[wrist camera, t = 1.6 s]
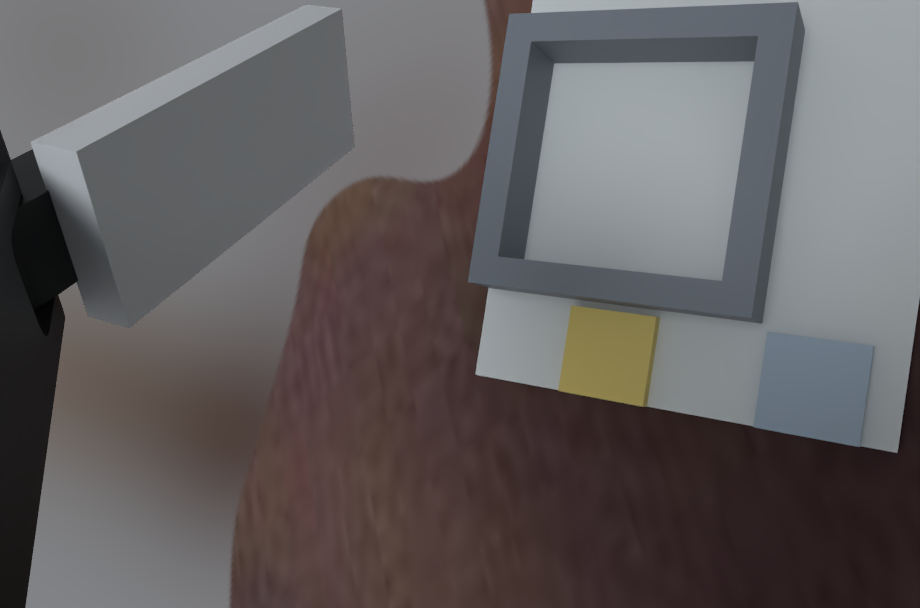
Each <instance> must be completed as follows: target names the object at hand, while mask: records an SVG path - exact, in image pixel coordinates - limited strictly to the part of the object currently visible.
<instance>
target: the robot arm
mask: <svg viewBox="0 0 920 608" xmlns="http://www.w3.org/2000/svg"><path fill="white" fill-rule="evenodd" d="M31 146H32V150H30V151H28V152H26V153H24V154H22V155H20V156H18V157H16V158H14V159H12V160H11V159H10V157H9V154H8V151H7V148H6V145H5V142H4V140H3V137H2V134H1V131H0V608H25V605H26V597H27V591H28V590H27V589H28V582H29V576H30V569H31V561H32V554H33V547H34V540H35V533H36V525H37V518H38V510H39V503H40V496H41V489H42V482H43V474H44V467H45V460H46V453H47V445H48V438H49V430H50V424H51V417H52V409H53V402H54V395H55V387H56V380H57V373H58V366H59V358H60V351H61V344H62V337H63V329H64V322H65V315H64V311H63V308H62V305H61V302H60V299H59V296H58V294H60V293H61V292H62V291H64V290H65V289H67V288H68V287H70V286H71V285H73V284H74V283H75V282H77V284H78V287H79V290H80V293H81V296H82V299H83V302H84V305H85V308H86V311H87V315H88V316H89V317H92V318H95V319H99V320H102V321H106V322H110V323H113V324H116V325H120V326H123V327H127V328H130V327H131V326H133V325H134V324H135V323H136V322H137V321H139V320H140V319H141V318H142V317H144V316H145V315H146V314H147V313H149V312H150V311H151V310H152V309H154V308H155V307H156V306H157V305H158V304H160V303H161V302H162V301H163V300H165V299H166V298H167V297H169V296H170V295H171V294H172V293H173V292H175V291H176V290H177V289H179V288H180V287H181V286H182V285H184V284H185V283H186V282H187V281H189V280H190V279H191V278H192V277H194V276H195V275H196V274H197V273H199V272H200V271H201V270H202V269H203V268H205V267H206V266H207V265H209V264H210V263H211V262H212V261H213V260H215V259H216V258H217V257H218V256H220V255H221V254H222V253H223V252H224V251H226V250H227V249H228V248H230V247H231V246H232V245H233V244H235V243H236V242H237V241H238V240H240V239H241V238H242V237H243V236H245V235H246V234H247V233H248V232H250V231H251V230H252V229H253V228H255V227H256V226H257V225H258V224H260V223H261V222H262V221H263V220H265V219H266V218H267V217H268V216H270V215H271V214H272V213H273V212H274V211H276V210H277V209H278V208H280V207H281V206H282V205H283V204H285V203H286V202H287V201H288V200H290V198H292V197H293V196H294V195H296V194H297V193H298V192H299V191H300V190H302V189H303V188H304V187H306V186H307V185H308V184H309V183H311V182H312V181H313V180H314V179H316V178H317V177H318V176H319V175H321V174H322V173H323V172H324V171H326V170H327V169H328V168H329V167H331V166H332V165H333V164H334V163H335V162H337V161H338V160H339V159H341V158H342V157H343V156H344V155H346V154H347V153H348V152H349V151H351V150H352V149H353V148H354V147H355V145H354V135H353V124H352V113H351V102H350V92H349V81H348V71H347V59H346V49H345V38H344V28H343V16H342V9H340V8H331V7H322V6H313V5H304V6H302V7H300V8H298V9H296V10H294V11H292V12H290V13H288V14H286V15H285V16H283V17H281V18H278V19H276V20H274V21H272V22H270V23H268V24H266V25H264V26H262V27H260V28H258V29H256V30H254V31H252V32H250V33H248V34H246V35H244V36H243V37H240V38H238V39H236V40H234V41H232V42H230V43H228V44H226V45H224V46H222V47H220V48H219V49H216V50H214V51H212V52H210V53H208V54H206V55H204V56H202V57H200V58H198V59H196V60H194V61H192V62H190V63H188V64H186V65H184V66H182V67H180V68H178V69H176V70H174V71H172V72H170V73H168V74H166V75H164V76H162V77H160V78H158V79H156V80H154V81H152V82H150V83H148V84H146V85H144V86H142V87H140V88H138V89H136V90H134V91H132V92H130V93H128V94H126V95H124V96H122V97H120V98H118V99H116V100H114V101H112V102H110V103H108V104H106V105H104V106H102V107H100V108H98V109H96V110H94V111H92V112H90V113H88V114H86V115H84V116H82V117H80V118H78V119H76V120H74V121H72V122H70V123H68V124H66V125H64V126H62V127H60V128H58V129H56V130H54V131H52V132H50V133H48V134H46V135H44V136H42V137H40V138H38V139H36V140H34V141H32V142H31Z"/></svg>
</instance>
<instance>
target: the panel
mask: <svg viewBox="0 0 920 608" xmlns="http://www.w3.org/2000/svg"><path fill="white" fill-rule="evenodd" d="M468 282H470V283H473V284H477V285H481V286H485V287H489V289H488V295H487V302H486V308H485V315H484V321H483V328H482V334H481V341H480V347H479V354H478V360H477V367H476V373H475V375H480V376H485V377H491V378H496V379H501V380H507V381H512V382H517V383H523V384H528V385H534V386H539V387H544V388H550V389H555V390H558V391H561V392H566V393H572V394H577V395H582V396H588V397H593V398H599V399H604V400H609V401H615V402H620V403H625V404H631V405H636V406H641V407H652V408H658V409H663V410H668V411H674V412H679V413H684V414H690V415H695V416H701V417H706V418H711V419H717V420H722V421H728V422H733V423H738V424H744V425H749V426H753V427H754V428H760V429H765V430H770V431H776V432H781V433H787V434H792V435H797V436H803V437H808V438H813V439H819V440H824V441H829V442H835V443H840V444H846V445H851V446H856V447H860V446H862V447H868V448H873V449H878V450H884V451H889V452H895V453H898V447H899V440H900V433H901V425H902V418H903V411H904V404H905V397H906V390H907V383H908V376H909V369H910V362H911V355H912V348H913V341H914V334H915V327H916V320H917V313H918V306H919V299H920V0H533V4H532V10H531V13H520V14H509V19H508V26H507V32H506V39H505V45H504V52H503V58H502V64H501V71H500V77H499V84H498V90H497V97H496V103H495V110H494V116H493V123H492V129H491V136H490V142H489V148H488V155H487V161H486V168H485V174H484V181H483V187H482V194H481V200H480V207H479V213H478V219H477V226H476V232H475V239H474V245H473V252H472V258H471V265H470V271H469V278H468Z"/></svg>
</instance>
